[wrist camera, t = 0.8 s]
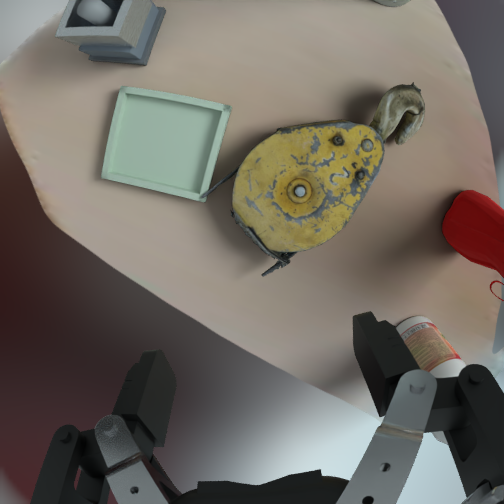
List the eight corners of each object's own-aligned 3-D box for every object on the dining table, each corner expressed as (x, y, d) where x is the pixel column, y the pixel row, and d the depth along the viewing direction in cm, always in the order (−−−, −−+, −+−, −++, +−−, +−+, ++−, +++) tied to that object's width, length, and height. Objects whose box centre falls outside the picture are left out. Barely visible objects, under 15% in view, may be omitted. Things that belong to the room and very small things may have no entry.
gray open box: (93, 3, 22) (73, -10, 17) (152, 3, 23) (139, -14, 18) (76, 45, 24) (54, 36, 19) (135, 47, 25) (118, 35, 20)
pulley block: (464, 150, 28) (267, 293, 34) (441, 149, 34) (267, 274, 40) (403, 48, 25) (188, 194, 31) (385, 61, 31) (199, 188, 37)
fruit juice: (403, 309, 44) (493, 444, 18) (439, 318, 45) (525, 431, 19) (376, 354, 47) (439, 489, 21) (414, 358, 48) (478, 474, 23)
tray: (126, 87, 31) (120, 85, 29) (232, 107, 32) (231, 106, 31) (106, 175, 35) (101, 177, 33) (206, 199, 36) (204, 202, 35)
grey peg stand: (111, 8, 26) (71, -23, 15) (166, 10, 27) (138, -29, 16) (92, 61, 29) (43, 43, 18) (146, 65, 30) (108, 42, 19)
